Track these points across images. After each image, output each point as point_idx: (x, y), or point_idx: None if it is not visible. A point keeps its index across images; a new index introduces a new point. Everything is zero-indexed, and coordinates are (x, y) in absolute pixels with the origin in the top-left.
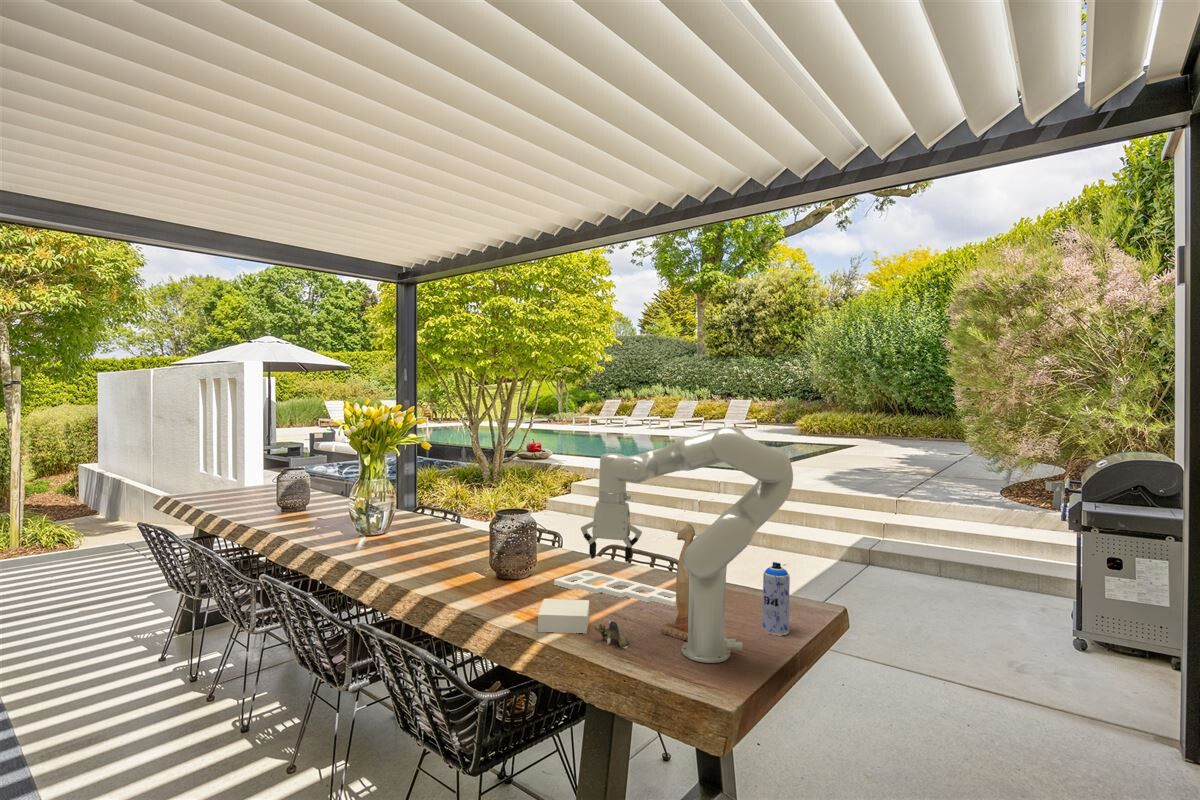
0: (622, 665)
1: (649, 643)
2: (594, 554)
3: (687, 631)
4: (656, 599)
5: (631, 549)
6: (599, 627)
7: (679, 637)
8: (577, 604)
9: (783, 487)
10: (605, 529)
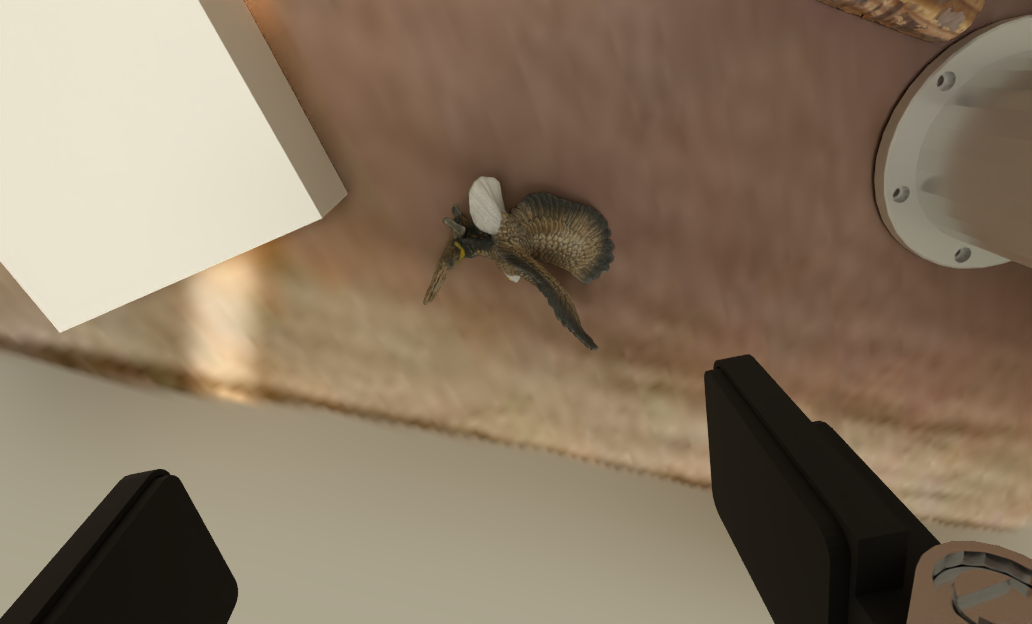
0: (643, 420)
1: (697, 155)
2: (194, 590)
3: None
4: None
5: (909, 529)
6: (444, 266)
7: (857, 10)
8: (114, 22)
9: None
10: None
